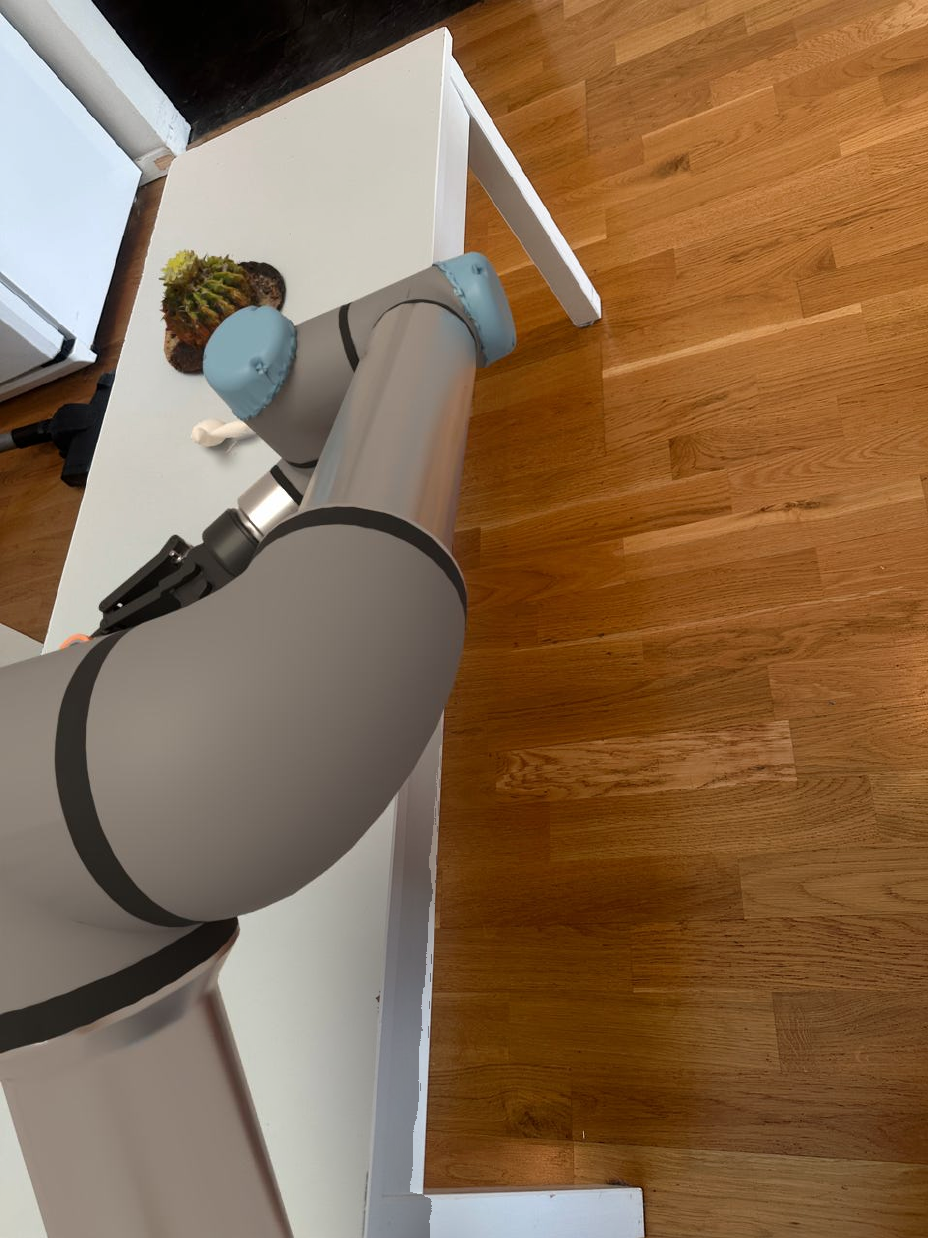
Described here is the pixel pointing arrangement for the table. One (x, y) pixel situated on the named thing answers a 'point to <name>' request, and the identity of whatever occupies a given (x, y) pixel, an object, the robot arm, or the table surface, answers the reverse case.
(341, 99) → the table surface
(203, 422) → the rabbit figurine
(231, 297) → the cactus
